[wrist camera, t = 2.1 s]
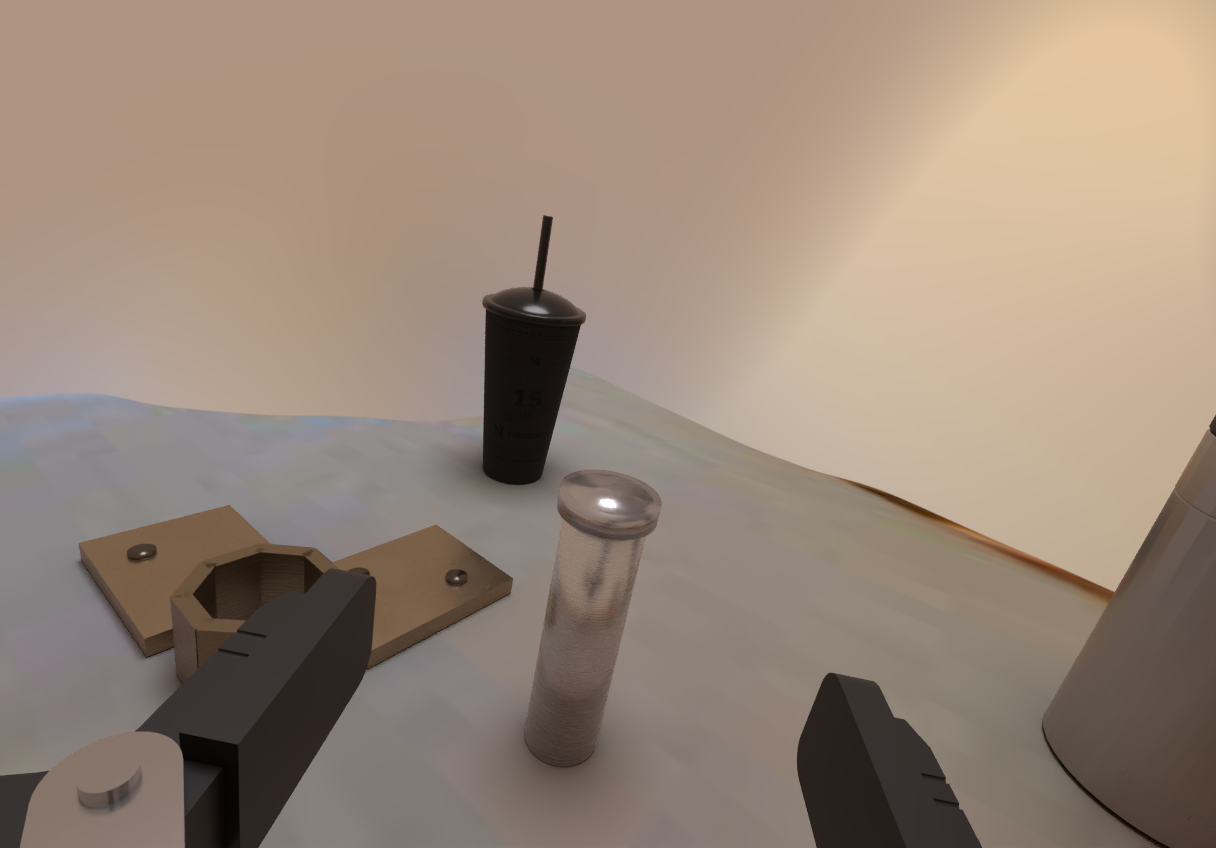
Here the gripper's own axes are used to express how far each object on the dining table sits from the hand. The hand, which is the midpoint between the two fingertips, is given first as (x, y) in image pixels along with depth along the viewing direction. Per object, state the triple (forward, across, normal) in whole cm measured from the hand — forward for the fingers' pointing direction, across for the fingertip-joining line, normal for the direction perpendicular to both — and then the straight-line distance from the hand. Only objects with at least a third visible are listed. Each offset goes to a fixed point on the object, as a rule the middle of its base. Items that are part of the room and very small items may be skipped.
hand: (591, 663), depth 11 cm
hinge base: (+19, +15, +14) cm, 28 cm away
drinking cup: (+36, +8, +14) cm, 40 cm away
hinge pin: (+12, 0, +14) cm, 19 cm away
